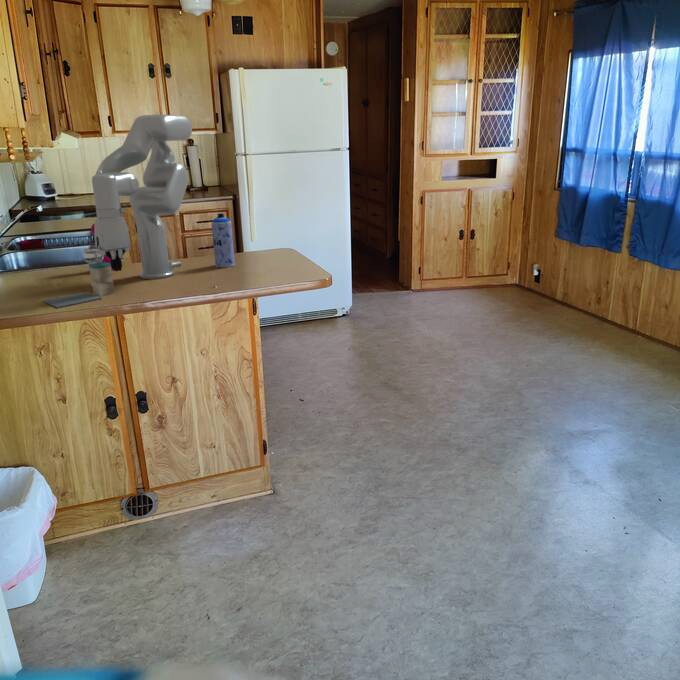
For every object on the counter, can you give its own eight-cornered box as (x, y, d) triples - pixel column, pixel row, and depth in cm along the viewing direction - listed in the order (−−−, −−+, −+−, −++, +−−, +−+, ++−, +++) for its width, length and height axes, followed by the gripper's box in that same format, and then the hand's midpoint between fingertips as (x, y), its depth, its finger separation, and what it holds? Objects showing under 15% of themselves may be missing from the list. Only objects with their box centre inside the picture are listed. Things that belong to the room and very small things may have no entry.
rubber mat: (86, 292, 201) (86, 291, 201) (101, 298, 193) (101, 297, 193) (42, 301, 192) (42, 300, 192) (57, 308, 184) (56, 307, 184)
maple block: (108, 291, 203) (103, 261, 199) (115, 293, 199) (110, 263, 196) (93, 294, 199) (88, 264, 196) (100, 296, 196) (95, 266, 193)
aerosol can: (210, 266, 235) (205, 214, 229) (225, 262, 241) (220, 211, 235) (225, 268, 231) (220, 215, 224) (239, 264, 237) (235, 212, 230)
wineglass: (107, 284, 211) (102, 250, 207) (87, 286, 209) (81, 252, 206) (109, 280, 217) (103, 247, 213) (88, 282, 216) (83, 249, 212)
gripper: (125, 211, 202) (133, 265, 208) (81, 215, 192) (90, 272, 198) (136, 212, 197) (143, 268, 203) (91, 217, 187) (100, 275, 193)
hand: (117, 270), depth 200 cm, fingers closed
